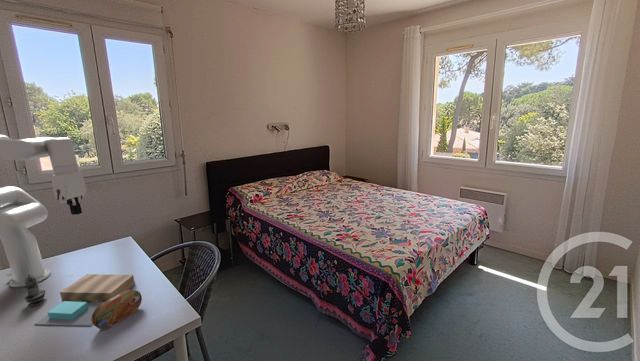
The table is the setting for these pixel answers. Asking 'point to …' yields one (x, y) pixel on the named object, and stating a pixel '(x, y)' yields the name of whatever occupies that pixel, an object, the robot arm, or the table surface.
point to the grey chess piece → (34, 292)
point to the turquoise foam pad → (68, 310)
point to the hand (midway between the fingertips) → (76, 213)
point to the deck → (97, 288)
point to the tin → (116, 309)
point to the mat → (80, 320)
